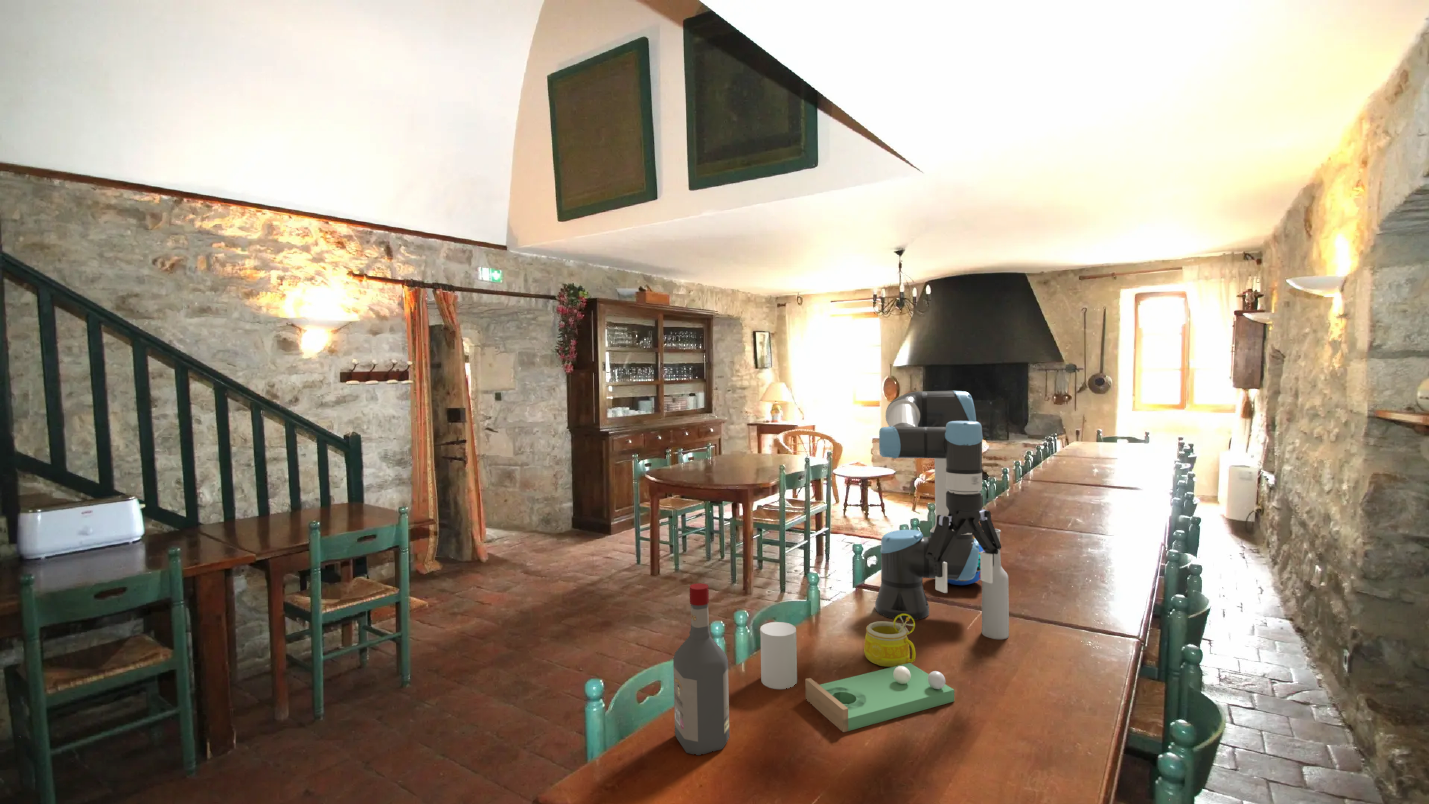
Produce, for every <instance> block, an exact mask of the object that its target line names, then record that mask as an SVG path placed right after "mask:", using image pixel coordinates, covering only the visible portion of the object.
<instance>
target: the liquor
mask: <svg viewBox="0 0 1429 804" xmlns="http://www.w3.org/2000/svg"><path fill="white" fill-rule="evenodd" d="M709 594H710V592H709V585H708V584H706V583H700V582H699V583H698V582H697V583H692V584H690V585H689V603H690V631H689V636H687V638H686V640H684V641H683V642H682V644H681V645H680V647H679V646H678V648H677V650H676V651H675V653H674V654H673V660H672V661H673V664H672V665H673V666H672V667H673V704H674V705H673V706H674V736H675V737H676V739H677V741H678V742H679V744H680V745H681V747H682V749H683V750H684V751H685V753H686V754H689V755H694V754H696V755H695V756H702V755H701V754H703V755H705V754H709V753H713V752H717V751H721V750H724V748H725V746H726V744H727V742H728V741H729V740H730V705H729V704H730V702H729V701H730V697H729V695H730V693H729V691H730V689H729V687H730V686H729V660H728V659H729V658H728V656H727V654H726V652H725V651H724V650H723V648H721V646H720V645H719V644H718V643H717V642H716V641H715V640H714V639H713V638H712V636H711V631H710V622H709V621H710V620H709V619H710V618H709V615H710V614H709V603H710V595H709ZM712 751H713V752H712Z"/></svg>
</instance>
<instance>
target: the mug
mask: <svg viewBox="0 0 1429 804" xmlns="http://www.w3.org/2000/svg"><path fill="white" fill-rule="evenodd" d="M903 615H906V616H908V618H906V620H902V617H901V616H903ZM898 617H900V619H901V620H900V621H901V622H896V621H897V618H898ZM910 618H911V619H912V620H911V621H912V622H913V623H907V622H909V621H910V620H909V619H910ZM904 621H905V622H904ZM906 626H909V627H912V628H911V630H910V631H909V630H908V628H907V627H906ZM915 627H916V622H915V620H914V619H913V618H912V617H911V616H910V615H908V614H900V615H898V616H897V617H896V618H895V619H893V621H887V620H886V621H885V620H884V621H880V620H879V621H874V622H871V623H869V624H868V625H867V626H866V628H865V630H866V631H865V632H866V633H865V637H864V645H863V651H864V656H865V658H866V659H867V660H868V661H869V662H870V663H872V664H874V665H877V666H880V667H886V668H891V667H895V666H899V665H903V664H907V663H911V664H912V663H913V662H915V661H916V655H917V653H916V648H915V647H916V646H915V644H914V643H913V642H912V641H911V640H909V638H908V635H911V633H913V632H914V630H915ZM910 650H911V651H910ZM910 652H911V653H910ZM911 654H912V655H911ZM910 657H911V658H910Z"/></svg>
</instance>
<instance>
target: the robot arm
mask: <svg viewBox="0 0 1429 804" xmlns="http://www.w3.org/2000/svg"><path fill="white" fill-rule="evenodd" d="M885 421H886V423H887V425H888V426H882V427H881V428H880V429H879V432H878V434H879V435H878V436H879V437H878V444H879V445H878V446H879V448H878V449H879V450H878V451H879V452H878V453H879V455H880V456H881V457H882V458H890V459H895V460H896V459H934V503H935V504H934V505H935V506H934V507H935V508H934V510H935V511H934V513H935V514H934V516H935V519H934V520H935V524H934V526H933V527H932V528H931V529H930V530H929V536H924V534H923V533H922V532H921V531H920V530H918V529H898V530H894V531H890V532H887V533H885V534H884V535H883V536H882V538H881V540H880V541H881V542H880V550H879V552H880V554H881V556H880V557H881V558H880V563H881V564H880V567H881V568H880V573H881V575H880V576H881V577H880V580H881V581H880V587H879V589H878V594H877V597H876V599H875V603H874V604H875V608H874V609H875V611H876V612H877V613H878V614H879V615H880V616H883V617H886V618H889V619H893V620H894V619H895V618H896V617H897V616H898V615H900V614H908V615H910V616H911V617H912V618H913V619H914V621H917V620H923V619H925V618H927V617H928V616H929V615H930V604H929V602H928V598H927V595H926V592H925V589H924V586H923V579H924V578H925V579H934V580H935V581H934V582H935V584H934V586H935V590H936V591H938V592H941V593H944V594H948V582H947V579H952V580H956V581H958V580H971V579H973V578H974V576H975V574H976V571H977V566H978V558H979V544H980V546H981V547H982V549H983V550H984V551H985V552H981V579H980V581H981V582H982V581H984V582H987V583H993V566H994V554H998V550H1000V551H1001V549H1002V543H1001V540H1000V541H999V539H998V536H997V534H996V531H995V529H996V528H995V526H994V523H993V521H992V513H991V511H990V510H988V509H983V494H982V492H981V491H982V490H983V439H984V436H983V427H982V424H981V422H979V421H977V415H976V408H975V404H974V399H973V397H972V395H971V394H970V393H969V392H967V391H964V390H963V391H962V390H934V391H933V390H932V391H931V390H930V391H929V390H928V391H920V390H919V391H911V392H908V393H904V394H902V395H900V396H898V397H897V398H895V399H893V400H892V401H891V402H890V403H889V404H888V406H887V407H886V410H885ZM973 537H974V539H973ZM997 549H998V550H997ZM901 617H902V620H903V621H906V618H908V616H906V615H903V616H901ZM897 620H899V621H902V620H901V619H900V617H898V618H897V619H896V621H897ZM909 621H913V620H912V619H911V618H910V619H909Z"/></svg>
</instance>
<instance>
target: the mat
mask: <svg viewBox="0 0 1429 804" xmlns="http://www.w3.org/2000/svg"><path fill="white" fill-rule="evenodd" d="M899 666H904V667H906V668H907V669H908V670H909V671H910V674H911V678H910V680H909V682H908V683H906V684H900V683H898V682H897V681H896V680H895V679H894V675H893V673H894V670H895V668H896V667H898V666H895V667H886V668H884V669H879V670H875V671H871V672H867V673H862V674H858V675H854V676H850V677H846V678H841V679H837V680H833V681H829V682H825V683H821V684H819V683H818V682H817V681H815V680H813V679H812V677H809V678H805V686H804V687H805V700H806V699H807V700H806V701H807V702H808V703H809V702H810V703H809V704H810V705H811V704H812V707H813V708H815V709H816V710H817V711H818V712H819V713H820V714H822V716H823V717H825V718H826V719H827V720H829V722H830V723H832V724H833V725H834V726H836V728H837V729H838V730H840V731H841V732H842V733H847V732H850V731H853V730H857V729H860V728H863V727H867V726H871V725H875V724H878V723H882V722H886V721H889V720H892V719H896V718H900V717H903V716H907V715H910V714H914V713H917V712H921V711H922V712H923V711H924V710H928V709H931V708H932V709H933V708H935V707H940V706H942V705H945V704H950V703H952V702H955V689H954V688H953V687H951V686H949V685H948V684H946V683H945V685H944V687H943V688H942V689H934V688H932V687H931V686H930V685H929V683H928V675H929V674H930V673H927V672H926V671H925V670H922V669H921V668H919V666H918V667H917V666H916V665H914V664H913V663H912V662H911V663H906V664H903V665H899Z"/></svg>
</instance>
